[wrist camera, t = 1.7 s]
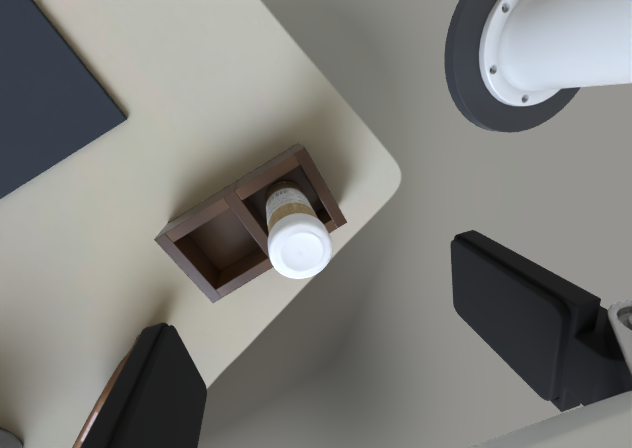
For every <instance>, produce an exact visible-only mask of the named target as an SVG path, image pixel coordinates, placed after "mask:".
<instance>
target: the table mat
mask: <svg viewBox="0 0 632 448" xmlns="http://www.w3.org/2000/svg"><path fill="white" fill-rule="evenodd" d="M125 120H127V117H126V116H125V115H124V114H123V112H122V111H121V110H120V109H119V107H118V106H117V105H116V104H115V102H114V101H113V100H112V99H111V97H110V96H109V95H108V94H107V92H106V91H105V90H104V89H103V87H102V86H101V85H100V84H99V82H98V81H97V80H96V79H95V77H94V76H93V75H92V74H91V72H90V71H89V70H88V69H87V67H86V66H85V65H84V64H83V62H82V61H81V60H80V59H79V57H78V56H77V55H76V54H75V52H74V51H73V50H72V49H71V47H70V46H69V45H68V44H67V42H66V41H65V40H64V39H63V37H62V36H61V35H60V34H59V32H58V31H57V30H56V29H55V27H54V26H53V25H52V24H51V22H50V21H49V20H48V19H47V17H46V16H45V15H44V14H43V12H42V11H41V10H40V9H39V7H38V6H37V5H36V4H35V2H34V1H33V0H0V199H1V198H3V197H4V196H6V195H7V194H9V193H11V192H12V191H14V190H15V189H17V188H19V187H20V186H22V185H23V184H25V183H27V182H28V181H30V180H31V179H33V178H34V177H36V176H38V175H39V174H41V173H42V172H44V171H46V170H47V169H49V168H50V167H52V166H54V165H55V164H57V163H58V162H60V161H62V160H63V159H65V158H66V157H68V156H69V155H71V154H73V153H74V152H76V151H77V150H79V149H81V148H82V147H84V146H85V145H87V144H89V143H90V142H92V141H93V140H95V139H96V138H98V137H100V136H101V135H103V134H104V133H106V132H108V131H109V130H111V129H112V128H114V127H116V126H117V125H119V124H120V123H122V122H124V121H125Z"/></svg>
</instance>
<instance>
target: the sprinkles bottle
mask: <svg viewBox="0 0 632 448" xmlns="http://www.w3.org/2000/svg"><path fill="white" fill-rule="evenodd" d="M265 206H266V214H267V225H268V230H269V237H268V252H269V257H270V261H271V263H272V265H273V266H274V268H275V269H276V270H277V271H278V272H279V273H281V274H282V275H284V276H286V277H289V278H294V279H303V278H308V277H311V276H313V275H316V274H317V273H319V272H320V271H321V270H322V269H324V267H325V266H326V265H327V264H328V262H329V260H330V258H331V255H332V249H333V245H332V240H331V237H330V235H329V233H328V231H327V229H326V228H325V226H324V224H323V223H322V222H321V221H320V220H319V219H318V218H317V216H316V214H315V212H314V210H313V209H312V207H311V205H310V203H309V201H308V200H307V198H306V197H305V195H304V192H303V190H302V189H301V187H300V186H299V185H297V184H295V183H294V182H290V181H280V182H277V183H276V184H274V185H272V186H271V187H270V188H269V190H268V191H267V193H266V196H265Z"/></svg>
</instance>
